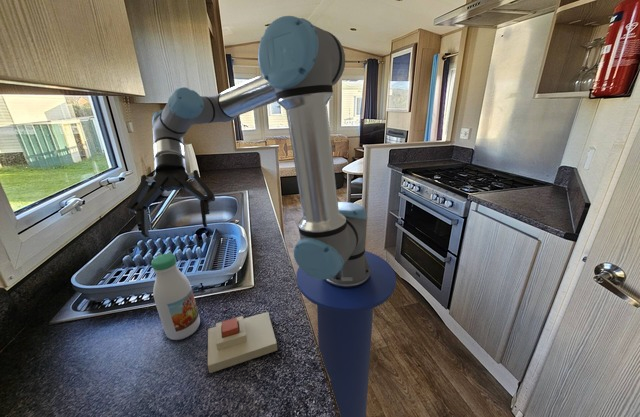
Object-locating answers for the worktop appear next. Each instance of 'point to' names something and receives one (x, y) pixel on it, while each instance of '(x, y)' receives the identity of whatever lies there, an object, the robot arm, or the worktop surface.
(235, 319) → the red switch button
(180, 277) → the milk bottle
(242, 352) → the light switch
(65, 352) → the worktop surface
